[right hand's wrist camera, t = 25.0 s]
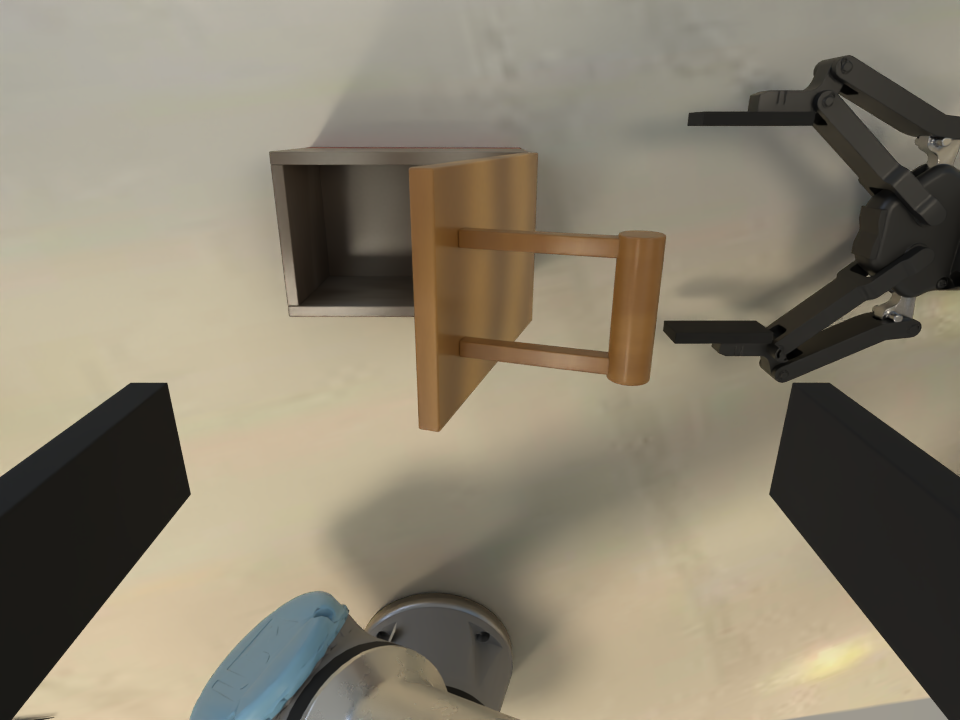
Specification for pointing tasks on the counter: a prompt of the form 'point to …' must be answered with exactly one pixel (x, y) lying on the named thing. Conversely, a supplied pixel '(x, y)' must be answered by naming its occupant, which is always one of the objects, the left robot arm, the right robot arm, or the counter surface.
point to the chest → (351, 226)
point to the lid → (509, 282)
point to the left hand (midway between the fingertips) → (680, 232)
